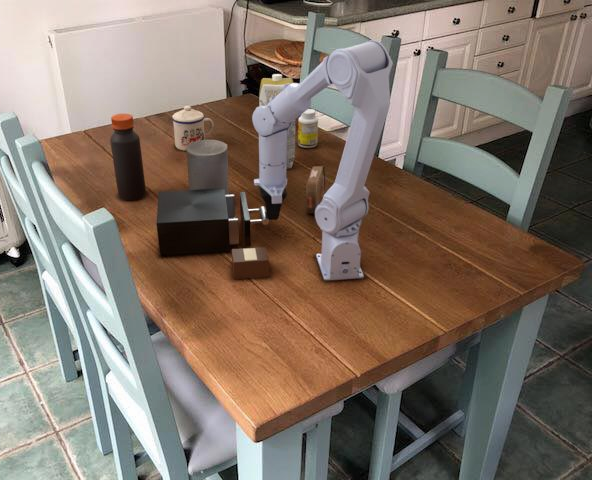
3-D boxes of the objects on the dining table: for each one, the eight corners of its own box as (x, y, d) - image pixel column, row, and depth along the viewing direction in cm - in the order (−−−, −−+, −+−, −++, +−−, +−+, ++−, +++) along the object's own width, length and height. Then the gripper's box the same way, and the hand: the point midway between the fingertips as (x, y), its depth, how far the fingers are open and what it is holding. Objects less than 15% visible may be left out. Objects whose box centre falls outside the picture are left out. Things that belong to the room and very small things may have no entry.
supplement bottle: (301, 140, 186) (302, 106, 181) (319, 142, 185) (320, 108, 179) (295, 147, 182) (296, 112, 176) (313, 149, 180) (315, 115, 175)
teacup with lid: (181, 153, 178) (177, 113, 172) (170, 143, 185) (166, 104, 179) (220, 146, 183) (218, 107, 177) (208, 136, 190) (205, 98, 184)
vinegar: (119, 202, 153) (107, 123, 142) (117, 190, 159) (106, 113, 148) (147, 199, 155) (138, 120, 144) (144, 187, 160) (135, 110, 149)
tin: (317, 220, 145) (318, 187, 141) (303, 219, 146) (304, 186, 141) (325, 192, 158) (327, 160, 153) (313, 190, 158) (314, 159, 154)
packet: (269, 277, 126) (269, 259, 123) (234, 279, 125) (233, 261, 123) (266, 263, 130) (266, 246, 128) (232, 265, 129) (231, 248, 127)
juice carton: (293, 158, 176) (294, 71, 163) (295, 170, 169) (296, 80, 156) (259, 158, 175) (258, 72, 162) (260, 170, 169) (259, 81, 156)
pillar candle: (184, 195, 156) (179, 138, 148) (220, 187, 160) (217, 131, 152) (198, 212, 149) (194, 152, 141) (236, 203, 153) (234, 144, 144)
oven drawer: (264, 215, 146) (263, 190, 142) (270, 244, 134) (270, 218, 131) (186, 219, 144) (184, 194, 140) (187, 250, 133) (184, 223, 129)
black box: (226, 219, 146) (224, 187, 141) (230, 252, 133) (228, 218, 129) (162, 223, 144) (158, 191, 140) (160, 257, 132) (156, 223, 128)
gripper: (250, 148, 137) (251, 204, 144) (257, 176, 125) (258, 235, 132) (282, 146, 138) (282, 202, 145) (292, 174, 126) (291, 233, 133)
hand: (272, 218), depth 139 cm, fingers closed, pressing on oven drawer
